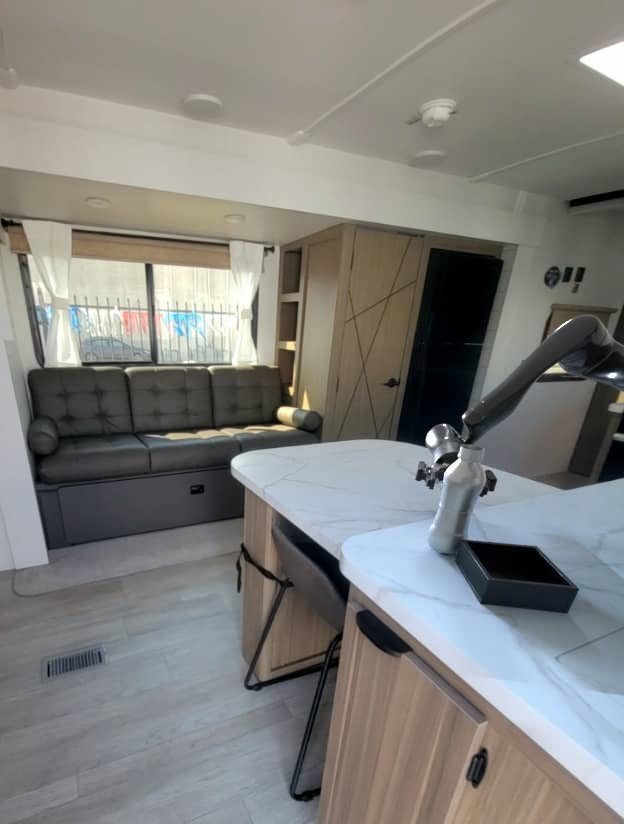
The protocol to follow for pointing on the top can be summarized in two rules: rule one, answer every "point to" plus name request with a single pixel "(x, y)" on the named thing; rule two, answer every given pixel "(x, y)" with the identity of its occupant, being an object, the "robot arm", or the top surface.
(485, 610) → the top surface
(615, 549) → the top surface
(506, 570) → the dark square tray
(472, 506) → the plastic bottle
